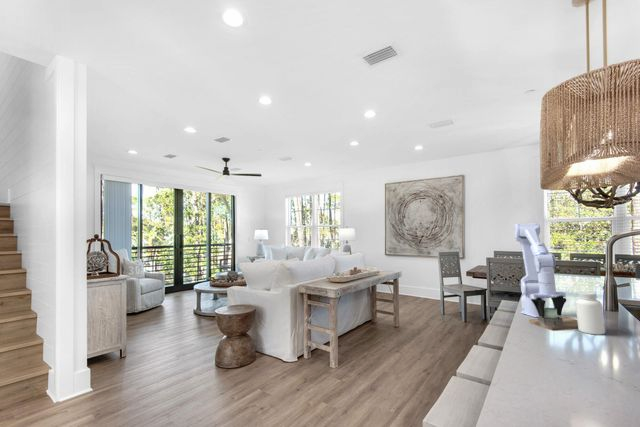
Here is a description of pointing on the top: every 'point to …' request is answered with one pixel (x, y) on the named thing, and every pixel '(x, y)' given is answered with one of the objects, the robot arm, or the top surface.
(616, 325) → the top surface
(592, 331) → the pill bottle
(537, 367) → the top surface
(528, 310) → the robot arm
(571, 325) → the stud board
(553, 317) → the cap
